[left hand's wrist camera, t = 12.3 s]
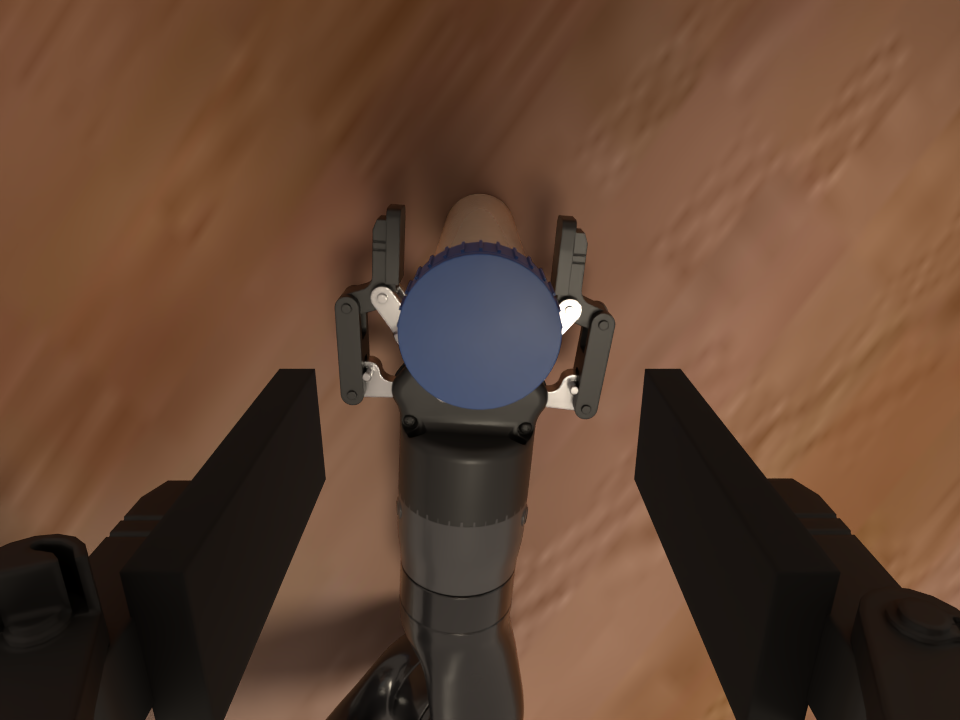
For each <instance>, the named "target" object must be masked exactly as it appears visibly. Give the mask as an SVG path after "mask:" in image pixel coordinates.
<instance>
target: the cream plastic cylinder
mask: <svg viewBox="0 0 960 720" xmlns="http://www.w3.org/2000/svg"><path fill="white" fill-rule="evenodd" d="M479 240H483V242H489V243H495V244H496V243H497V242H500V245H503V246H506V247H509V248H511V249H513V247H515V248H516V249H517V252H519V253H521V254H522V255H524V256H525V253H524V250H523V247H522V244H521V240H520V237H519V234H518V231H517V228H516V225H515V222H514V219H513V216H512V214H511V212H510V210H509V209H508V207H507V206H506V205H505V204H504V203H503V202H502V201H501V200H499V199H498V198H496V197H494V196H491V195H487V194H473V195H469V196H466V197H464V198H462V199H461V200H459V201H458V202H457V203H456V204H455V205H454V206H453V207H452V208H451V210H450V211H449V213H448V216H447V218H446V221H445V224H444V227H443V230H442V234H441V237H440V240H439V243H438V246H437V249H436V252H435V255H434V257H435V256H436V255H437V254H439V253H441V252H443V251H444V250H445V247H447V246H448V247H449V248H451V247H454V246H456V245H460V244H461V243H462V242H463V241H465V243H472V242H479ZM525 257H526V256H525Z"/></svg>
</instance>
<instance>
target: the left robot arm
mask: <svg viewBox="0 0 960 720" xmlns="http://www.w3.org/2000/svg"><path fill="white" fill-rule="evenodd" d="M325 480H326V477H325V467H324V457H323V446H322V436H321V426H320V416H319V406H318V396H317V386H316V375H315V369H279V370H278V372H277V373H276V374H275V375H274V377H273V378H272V379H271V380H270V382H269V383H268V384H267V385H266V387H265V388H264V389H263V391H262V392H261V393H260V394H259V396H258V397H257V398H256V399H255V401H254V402H253V403H252V405H251V406H250V407H249V408H248V410H247V411H246V412H245V413H244V415H243V416H242V417H241V418H240V420H239V421H238V422H237V424H236V425H235V426H234V427H233V429H232V430H231V431H230V432H229V434H228V435H227V436H226V437H225V439H224V440H223V441H222V443H221V444H220V445H219V446H218V448H217V449H216V450H215V451H214V453H213V454H212V455H211V457H210V458H209V459H208V460H207V462H206V463H205V464H204V465H203V467H202V468H201V469H200V470H199V472H198V473H197V474H196V476H195V477H194V478H193V479H192V481H167V482H165V483H163V484H162V485H160V486H159V487H157V488H155V489H154V490H152V491H151V492H149V493H147V494H146V495H144V496H143V497H141V498H140V499H139V501H138V502H137V503H136V504H135V505H134V506H133V507H132V508H131V510H130V511H129V512H128V513H127V514H126V515H125V516H124V521H120V522H119V523H118V524H117V525H116V527H115V528H114V529H113V530H112V531H111V532H110V537H106V538H105V539H104V540H103V541H102V542H101V543H100V545H99V546H98V547H97V548H96V549H95V550H94V551H93V553H92V554H91V555H90V556H89V557H88V553H87V549H86V545H85V544H84V543H83V542H82V541H80V540H79V539H78V538H76V537H74V536H68V535H62V534H52V535H41V536H34V537H30V538H26V539H23V540H19V541H15V542H12V543H9V544H7V545H4V546H2V547H0V720H145V719H146V717H147V715H148V714H149V712H150V710H151V708H153V712H154V716H155V720H224V718H225V716H226V713H227V711H228V709H229V706H230V704H231V702H232V699H233V697H234V695H235V692H236V690H237V687H238V685H239V683H240V680H241V678H242V676H243V673H244V671H245V669H246V666H247V664H248V661H249V659H250V657H251V654H252V652H253V650H254V647H255V645H256V643H257V640H258V638H259V636H260V633H261V631H262V628H263V626H264V624H265V621H266V619H267V617H268V614H269V612H270V610H271V607H272V605H273V602H274V600H275V598H276V595H277V593H278V591H279V588H280V586H281V584H282V581H283V579H284V576H285V574H286V572H287V569H288V567H289V565H290V562H291V560H292V558H293V555H294V553H295V550H296V548H297V546H298V543H299V541H300V539H301V536H302V534H303V532H304V529H305V527H306V524H307V522H308V520H309V517H310V515H311V513H312V510H313V508H314V506H315V503H316V501H317V499H318V496H319V494H320V491H321V489H322V487H323V484H324V482H325ZM634 480H635V482H636V484H637V487H638V489H639V491H640V494H641V496H642V499H643V501H644V503H645V506H646V508H647V510H648V513H649V515H650V517H651V520H652V522H653V525H654V527H655V529H656V532H657V534H658V536H659V539H660V541H661V543H662V546H663V548H664V550H665V553H666V555H667V558H668V560H669V562H670V565H671V567H672V569H673V572H674V574H675V576H676V579H677V581H678V584H679V586H680V588H681V591H682V593H683V595H684V598H685V600H686V602H687V605H688V607H689V610H690V612H691V614H692V617H693V619H694V621H695V624H696V626H697V628H698V631H699V633H700V636H701V638H702V640H703V643H704V645H705V647H706V650H707V652H708V654H709V657H710V659H711V661H712V664H713V666H714V669H715V671H716V673H717V676H718V678H719V680H720V683H721V685H722V687H723V690H724V692H725V695H726V697H727V699H728V702H729V704H730V706H731V709H732V711H733V713H734V716H735V718H736V720H805V716H806V712H807V708H808V705H809V707H810V708H811V710H812V712H813V714H814V716H815V717H816V719H817V720H960V611H959V610H958V609H957V608H955V607H953V606H951V605H949V604H947V603H945V602H943V601H941V600H939V599H937V598H935V597H934V596H931V595H927V594H924V593H921V592H918V591H915V590H911V589H906V588H901V586H900V585H899V584H898V583H897V582H896V581H895V580H894V579H893V578H892V576H891V575H890V574H889V573H888V572H887V571H886V570H885V569H884V567H883V566H882V565H881V564H880V563H879V562H878V561H877V560H876V558H875V557H874V556H873V555H872V554H871V553H870V552H869V551H868V549H867V548H866V547H865V546H864V545H863V544H862V543H861V542H860V540H859V539H858V538H857V537H856V536H855V535H851V530H850V529H849V528H848V527H847V526H846V525H845V524H844V523H843V521H842V520H841V519H840V518H837V517H836V514H835V512H834V511H833V510H832V509H831V508H830V507H829V506H828V505H827V503H826V502H825V501H824V500H823V499H822V498H821V497H820V496H819V495H818V494H816V493H815V492H813V491H812V490H810V489H808V488H807V487H805V486H804V485H802V484H800V483H799V482H797V481H795V480H794V479H767V478H766V477H765V476H764V474H763V473H762V472H761V470H760V469H759V468H758V467H757V465H756V464H755V463H754V462H753V460H752V459H751V458H750V457H749V455H748V454H747V453H746V451H745V450H744V449H743V448H742V446H741V445H740V444H739V443H738V441H737V440H736V439H735V437H734V436H733V435H732V434H731V432H730V431H729V430H728V429H727V427H726V426H725V425H724V424H723V422H722V421H721V420H720V418H719V417H718V416H717V415H716V413H715V412H714V411H713V410H712V408H711V407H710V406H709V405H708V403H707V402H706V401H705V399H704V398H703V397H702V396H701V394H700V393H699V392H698V391H697V389H696V388H695V387H694V385H693V384H692V383H691V382H690V380H689V379H688V378H687V377H686V375H685V374H684V373H683V372H682V370H681V369H645V375H644V386H643V396H642V406H641V416H640V426H639V436H638V446H637V457H636V467H635V477H634Z"/></svg>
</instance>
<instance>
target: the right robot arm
mask: <svg viewBox="0 0 960 720" xmlns="http://www.w3.org/2000/svg"><path fill="white" fill-rule="evenodd" d="M404 243H405V205H396V204H391V205H390V206H389V207H388V208H387V213H386V216H383V215H381V216H380V217H379V218H378V219H377V221H376V223H375V225H374V228H373V253H372V280H371V281H370V282H368V283H365V284H361V285H351V286H349V287H348V288H347V289H346V290H345V291H344V293H343V294H342V295H341V296H340V298H339V299H338V300H337V302H336V304H335V319H336V333H337V347H338V361H339V375H340V389H341V397H342V399H343V401H344V402H345V403H347V404H349V405H357V404H359V403H360V402H361V401H362V400H363V397H393V398H394V400H395V401H396V403H397V405H398V407H399V410H400V454H399V492H398V497H397V501H396V511H397V515H398V536H399V542H400V550H401V570H400V616H401V622H402V626H403V629H404V631H405V635H403V636H402V637H400V638H399V639H398V640H396V641H395V642H394V643H393V644H392V645H391V646H390V647H389V648H388V649H387V650H386V651H385V652H384V653H383V654H382V655H381V656H380V657H379V659H378V660H377V661H376V662H375V663H374V664H373V666H372V667H371V668H370V669H369V670H368V672H367V673H366V674H365V675H364V676H363V677H362V679H361V680H360V681H359V682H358V683H357V684H356V686H355V687H354V688H353V689H352V690H351V691H350V692H349V693H348V694H347V696H346V697H345V698H344V699H343V700H342V701H341V702H340V703H339V704H338V706H337V707H336V708H335V709H334V710H333V711H332V713H331V714H330V715H329V716H328V717H327V719H326V720H523V717H524V700H523V688H522V681H521V674H520V668H519V662H518V656H517V649H516V643H515V638H514V634H513V630H512V626H511V621H510V609H511V600H512V592H513V583H514V574H515V565H516V559H517V555H518V552H519V548H520V545H521V541H522V537H523V531H524V524H525V522H526V519H527V513H528V507H527V496H528V487H529V478H530V469H531V460H532V451H533V442H534V433H535V425H536V421H537V419H538V417H539V415H540V413H541V412H542V411H543V410H544V408H545V407H551V408H559V409H568V410H575V413H576V415H577V416H578V417H579V418H581V419H589V418H592V417H593V416H594V415H595V414H596V412H597V409H598V404H599V399H600V395H601V390H602V385H603V380H604V376H605V371H606V366H607V362H608V357H609V352H610V347H611V343H612V338H613V333H614V329H615V320H614V318H613V317H612V315H611V314H610V313H609V312H608V310H607V308H606V306H605V305H604V304H603V303H602V302H600V301H593V300H591V299H589V298H586V297H584V296H583V295H582V283H583V276H584V268H585V260H586V253H587V245H588V243H587V240H586V236H585V233H584V232H583V231H582V230H581V229H578V228H577V222H576V219H575V218H574V217H573V216H561V215H559V216H558V221H557V229H556V238H555V247H554V256H553V265H552V274H551V285H552V287H553V289H554V292H555V294H556V295H555V296H554V298H555V297H556V299H557V301H558V303H559V306H560V308H561V312H560V317H561V322H562V325H563V329H562V335H563V334H564V333H565V332H566V331H567V330H568V329H569V328H570V326H571V325H572V324H573V323H576V324H578V325H580V326H581V331H580V336H579V342H578V347H577V352H576V357H575V362H574V367H573V369H567V370H565V371H563V372H562V374H561V375H560V378H559V380H558V381H557V382H556V383H555V384H553V385H546V383H545V381H543V382H542V383H541V384H540V385H539V386H538V387H537V388H536V389H535V390H534V391H532V392H531V393H530V394H528V395H527V396H525V397H524V398H522V399H520V400H518V401H516V402H514V403H512V404H509V405H506V406H503V407H498V408H494V409H485V410H477V409H466V408H461V407H457V406H453V405H451V404H448V403H446V402H443V401H441V400H440V399H438V398H436V397H434V396H433V395H431V394H430V393H429V392H427V391H426V390H425V389H424V388H423V387H422V386H420V385H419V384H418V382H417V381H416V380H415V379H414V378H413V376H412V375H411V373H410V372H409V370H408V369H407V367H406V365H405V363H404V364H403V365H402V366H401V367H400V368H399V369H398V371H397V372H396V374H395V376H393V375H389V374H387V373H386V372H385V371H384V369H383V367H382V363H381V361H380V360H379V359H378V358H377V357H375V356H370V353H369V334H368V315H367V312H370V311H374V310H377V311H378V312H379V314H380V315H381V316H382V318H383V319H384V320H385V322H386V323H387V325H388V326H389V327H390V329H391V330H392V332H393V336H394V338H395V340H396V341H397V343H398V327H397V322H398V320H399V315H400V311H401V310H399V307H400V304H401V302H402V299H403V297H404V295H405V296H406V295H407V294H405V290H404V288H403V287H402V285H401V284H400V281H401V279H402V277H403V275H404Z"/></svg>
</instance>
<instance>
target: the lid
mask: <svg viewBox="0 0 960 720" xmlns="http://www.w3.org/2000/svg"><path fill="white" fill-rule="evenodd" d="M405 294H407V295H406V296H405V295H404V297H403V299H402V302H401V304H400V307H399V310H401V311H400V315H399V320H398V322H397V327H398V344H399V349H400V352H401V355H402V358H403V360H404V363H405V365H406V367H407V369H408V370H409V372H410V373H411V375H412V376H413V378H414V379H415V380H416V381H417V382H418V384H419V385H420V386H422V387H423V388H424V389H425V390H426V391H427V392H429V393H430V394H431V395H433V396H434V397H436V398H438V399H440V400H441V401H443V402H446V403H448V404H451V405H453V406H457V407H461V408H466V409H477V410H485V409H494V408H498V407H503V406H506V405H509V404H512V403H514V402H516V401H518V400H520V399H522V398H524V397H525V396H527V395H528V394H530V393H531V392H532V391H534V390H535V389H536V388H537V387H538V386H539V385H540V384H541V383H542V382H543V381H544V380H545V379H546V377H547V376H548V374H549V373H550V371H551V370H552V368H553V366H554V364H555V362H556V360H557V357H558V354H559V351H560V346H561V341H562V329H563V325H562V322H561V317H560V312H561V308H560V306H559V303H558V301H557V299H556V297H555V298H554V296H555V295H556V294H555V292H554V289H553V287H552V285H551V282H547V279H546V277H545V275H544V272H543V270H542V268H540V269H538V268H537V267H536V266H535V264H534V263H533V262H532V260H531V258H530V257H529V256H528V257H525V256H524V255H522V254H521V253H519V252H517V249H516V248H515V247H513V249H511V248H509V247H506V246H503V245H500V242H497V243H496V244H495V243H489V242H483V240H479V242H472V243H465V241H463V242H462V243H461V244H460V245H456V246H454V247H451V248H449V247H448V246H447V247H445V250H444V251H443V252H441V253H439V254H437V255H436V256H435V257H434V255H432V256H430V259H429V261H428V262H427V263H426V264H425V265H424V266H423V267H421V266H420V267H419V268H418V270H417V273H416V275H415V278H414V280H413V281H412V280H410V282H409V284H408V286H407V289H406V291H405Z"/></svg>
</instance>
